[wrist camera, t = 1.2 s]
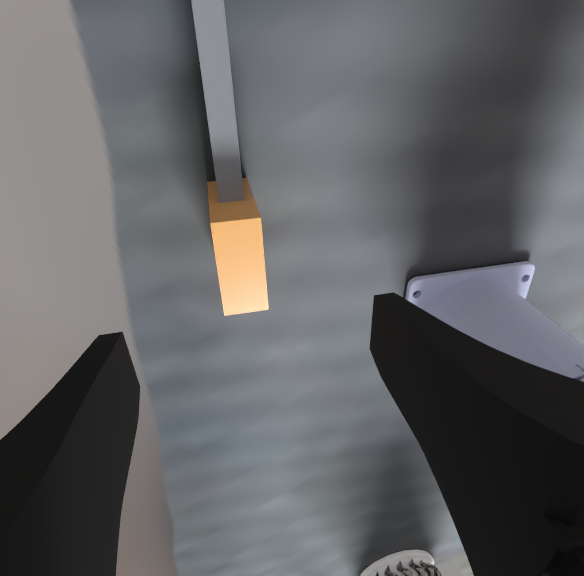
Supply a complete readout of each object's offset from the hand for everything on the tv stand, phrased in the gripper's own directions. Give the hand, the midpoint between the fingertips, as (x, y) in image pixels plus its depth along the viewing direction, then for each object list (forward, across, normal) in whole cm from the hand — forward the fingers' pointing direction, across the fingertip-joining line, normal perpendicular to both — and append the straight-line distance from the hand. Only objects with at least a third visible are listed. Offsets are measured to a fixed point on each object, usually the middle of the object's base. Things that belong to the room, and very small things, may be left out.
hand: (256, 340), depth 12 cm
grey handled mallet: (+9, 0, -5) cm, 11 cm away
